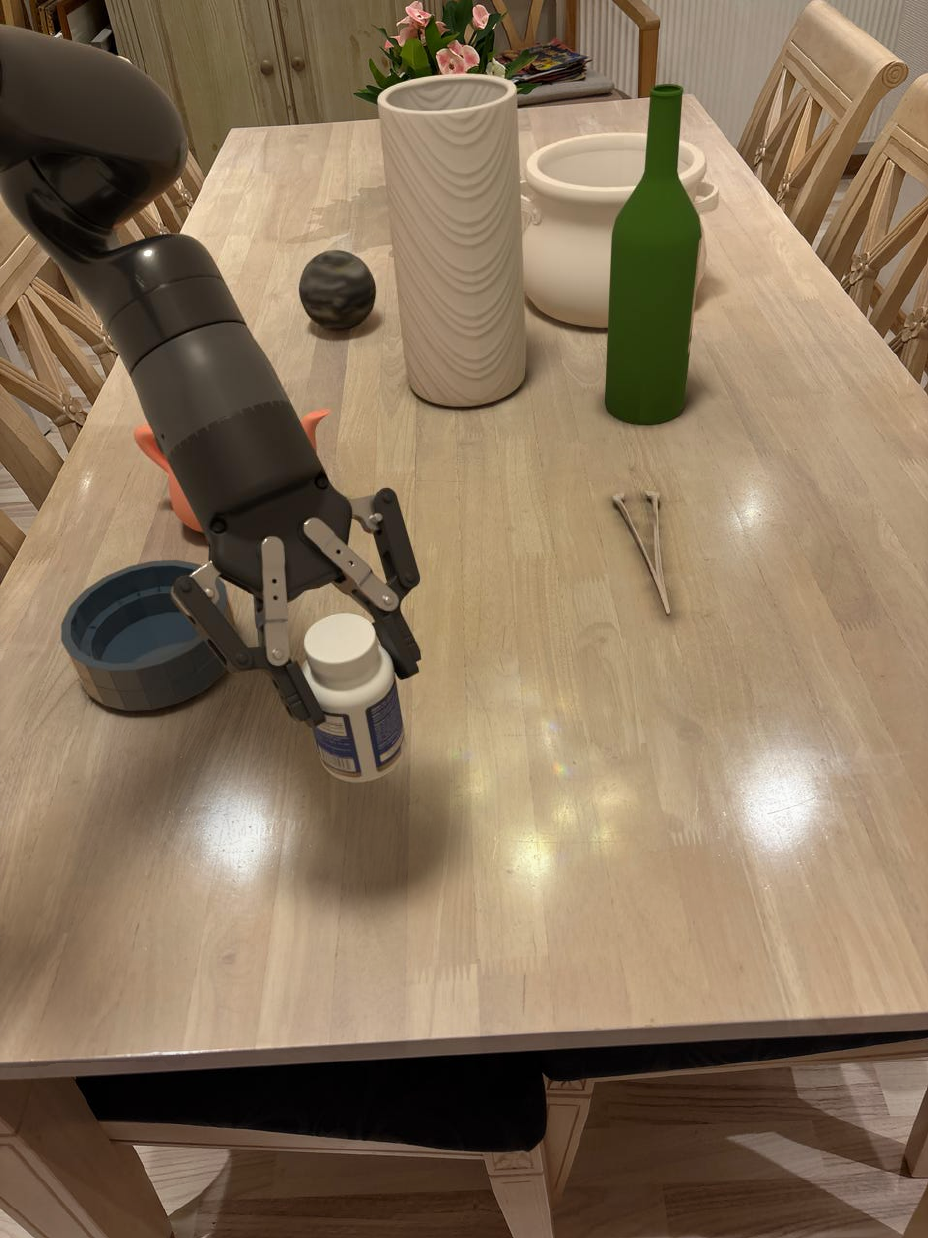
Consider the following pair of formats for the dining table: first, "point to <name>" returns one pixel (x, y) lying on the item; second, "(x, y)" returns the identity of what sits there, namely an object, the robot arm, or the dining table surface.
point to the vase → (456, 234)
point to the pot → (589, 218)
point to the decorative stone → (337, 290)
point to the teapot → (178, 499)
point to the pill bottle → (354, 698)
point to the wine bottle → (653, 279)
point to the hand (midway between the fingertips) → (364, 698)
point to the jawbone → (658, 562)
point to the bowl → (140, 639)
